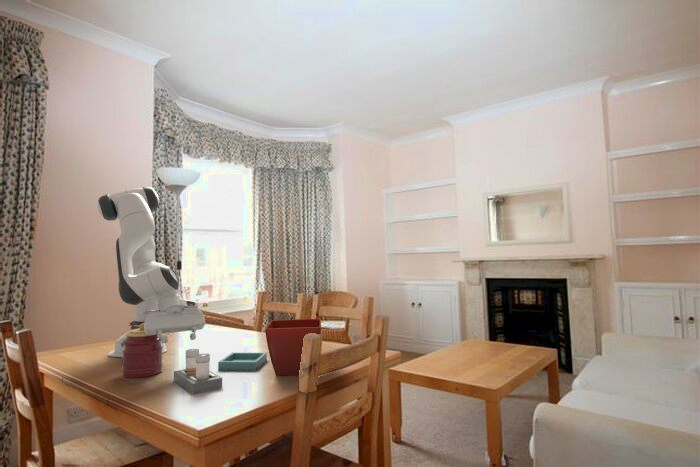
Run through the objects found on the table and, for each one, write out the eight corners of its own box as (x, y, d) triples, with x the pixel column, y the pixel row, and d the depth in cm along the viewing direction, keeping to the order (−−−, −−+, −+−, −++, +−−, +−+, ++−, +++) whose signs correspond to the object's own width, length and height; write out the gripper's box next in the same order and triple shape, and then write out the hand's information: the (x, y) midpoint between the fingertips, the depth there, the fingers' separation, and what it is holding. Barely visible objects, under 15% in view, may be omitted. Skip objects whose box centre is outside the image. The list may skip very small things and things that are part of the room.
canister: (144, 379, 134) (145, 326, 135) (112, 377, 137) (113, 325, 138) (170, 369, 147) (171, 320, 148) (140, 367, 150) (141, 319, 151)
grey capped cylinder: (183, 382, 130) (183, 351, 131) (189, 378, 135) (189, 348, 135) (195, 382, 130) (195, 351, 131) (201, 378, 134) (201, 348, 135)
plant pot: (271, 363, 152) (271, 319, 153) (321, 362, 154) (321, 318, 154) (264, 379, 133) (264, 328, 134) (321, 377, 134) (321, 327, 135)
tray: (218, 370, 144) (218, 361, 144) (232, 360, 158) (232, 352, 158) (256, 370, 143) (256, 362, 143) (266, 360, 157) (266, 352, 157)
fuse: (193, 389, 124) (193, 356, 124) (199, 384, 128) (199, 353, 128) (206, 389, 123) (206, 356, 124) (211, 385, 128) (212, 353, 128)
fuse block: (173, 380, 133) (173, 370, 133) (200, 374, 139) (200, 364, 139) (193, 394, 119) (193, 382, 120) (222, 387, 125) (222, 376, 125)
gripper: (142, 305, 138) (148, 338, 130) (201, 301, 151) (210, 331, 143) (139, 317, 141) (144, 350, 133) (197, 312, 154) (206, 342, 146)
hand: (179, 340), depth 138 cm, fingers open, 8 cm apart
